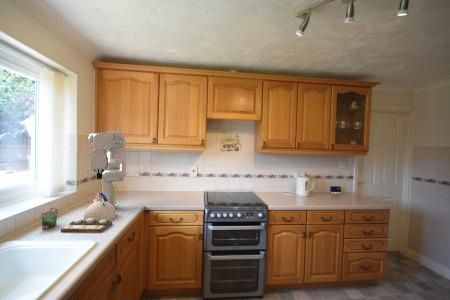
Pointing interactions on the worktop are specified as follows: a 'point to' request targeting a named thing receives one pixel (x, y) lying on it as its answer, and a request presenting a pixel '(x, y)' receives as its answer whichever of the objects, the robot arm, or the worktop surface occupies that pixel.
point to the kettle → (100, 209)
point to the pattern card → (83, 227)
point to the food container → (49, 218)
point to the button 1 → (77, 221)
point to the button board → (88, 224)
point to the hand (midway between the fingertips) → (99, 179)
